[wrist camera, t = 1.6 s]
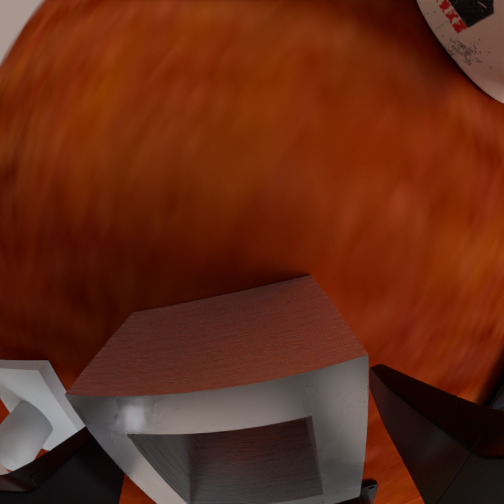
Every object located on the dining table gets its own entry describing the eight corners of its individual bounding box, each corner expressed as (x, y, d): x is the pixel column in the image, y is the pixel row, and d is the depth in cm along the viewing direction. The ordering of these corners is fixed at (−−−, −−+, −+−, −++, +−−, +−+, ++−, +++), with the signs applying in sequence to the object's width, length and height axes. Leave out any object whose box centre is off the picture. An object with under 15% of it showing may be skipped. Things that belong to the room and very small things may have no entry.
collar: (329, 408, 11) (359, 496, 6) (190, 431, 11) (173, 516, 6) (311, 274, 9) (367, 354, 4) (132, 312, 10) (64, 394, 5)
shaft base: (110, 452, 12) (81, 519, 6) (41, 438, 12) (11, 485, 6) (48, 360, 10) (-14, 425, 5) (-10, 359, 10) (-58, 401, 5)
